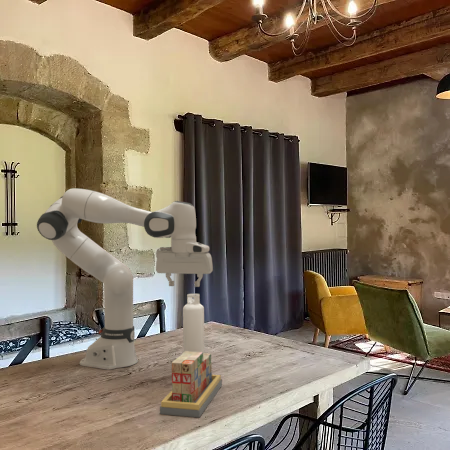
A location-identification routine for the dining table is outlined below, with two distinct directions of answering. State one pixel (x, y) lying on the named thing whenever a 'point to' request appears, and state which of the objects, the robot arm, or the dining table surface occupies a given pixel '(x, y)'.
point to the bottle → (193, 324)
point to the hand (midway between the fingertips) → (184, 286)
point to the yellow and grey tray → (197, 406)
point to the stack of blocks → (190, 375)
